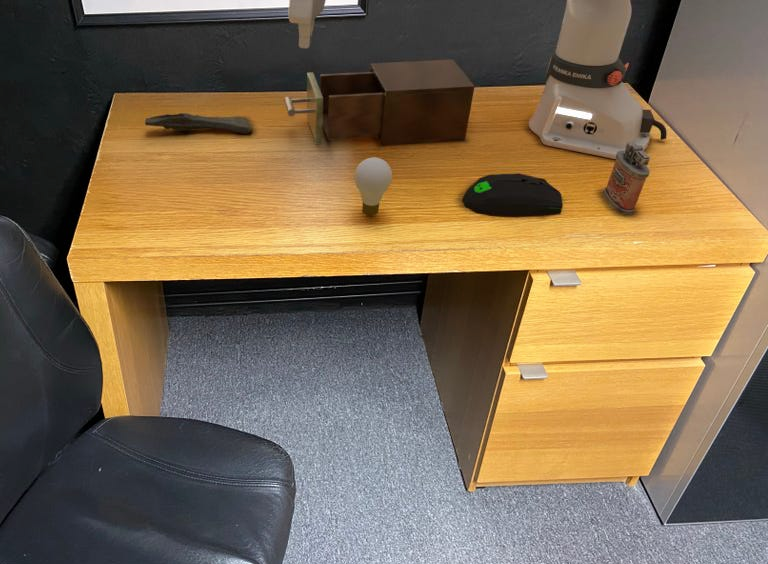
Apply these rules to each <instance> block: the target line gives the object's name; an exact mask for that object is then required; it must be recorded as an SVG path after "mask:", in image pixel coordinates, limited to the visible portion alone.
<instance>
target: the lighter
mask: <svg viewBox="0 0 768 564" xmlns="http://www.w3.org/2000/svg"><path fill="white" fill-rule="evenodd" d="M650 160H651V158H650V156H649V154H647V153H646V152H645V150H644V151H643V146H642V145H636V144H635V143H634V142H627V145H626V149H625V151H618V152H617V154H616V159H615V161H614V163H613V167H612V170H611V173H610V175H609V179H608V181H607V185H606V186H605V187H604V189H603V192H602V194H603V197H604V199H605V201H606V202H607V203H608V205H609V206H610V207H611V208H612V209H613V210H615V211H616V212H617V213H618V214H620V215H622V216H632V215H634V214H635V211H636V205H637V203H638V201H639V197H640V195H641V193H642V190H643V187H644V185H645V182H646V179H648V177H649V176H650V173H651V170H650V168H649V167H648V165H649V163H650Z"/></svg>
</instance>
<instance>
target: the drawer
mask: <svg viewBox="0 0 768 564" xmlns="http://www.w3.org/2000/svg"><path fill="white" fill-rule="evenodd" d="M384 96H385V93H384V91H383V90H382V88H381V86H380V84H379V82H378V81H377V79H376V77H375V75H374V73H373V72H370V71H362V72H361V71H360V72H342V73H341V72H340V73H322V74H320V80H319V84H318V81H317V79H316V76H315V73H314V72H313V71H312V72H306V97H302V98H301V97H300V98H299V97H298V98H291V96H285V98H284V100H283V101H284V105H285V109H286V112H287V115H288V116H289V117H292V118H293V117H294V116H295V115H299V114H306V119H307V121H308V125H309V127H310V131H311V135H312V137H313V140H314V144H315V145H322V143H323V129H324V132H325V134H326V138H327V141H334V140H335V141H336V140H350V139H352V140H353V139H368V138H377V137H381V129H382V118H383V107H384ZM298 103H299V104H300V103H306V108H301V109H300V108H299V109H295V106H294V104H298Z"/></svg>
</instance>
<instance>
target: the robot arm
mask: <svg viewBox="0 0 768 564" xmlns="http://www.w3.org/2000/svg"><path fill="white" fill-rule="evenodd" d="M288 3H289V4H288V21H289V23H291V24H297V25H298V26H297V27H298V48H300V49H309V48H310V46H311V45H312V40H313V39H312V38H313V32H314V27H315V19H316V18H317V17H318V16H319V15H320V14H321V13H322V12H323V11H324V8H325V5H326V0H289V1H288ZM631 17H632V3H631V0H566V4H565V9H564V15H563V19H562V23H561V27H560V32H559V35H558V40H557V44H556V48H555V49H554V50H553V52H552V54H551V57H550V60H549V62H548V66H547V71H546V76H545V77H546V78H545V81H546V83H545V86H544V89H543V91H542V94H541V97H540V99H539V101H538V103H537V106H536V108H535V110H534V112H533V113H532V115H531V117H530V119H529V121H528V127H529V129H530V130H531V131H532V132H533V133H534V134H535V135H537V136H538V137H539V139H540V141H541V143H542V144H543V145H545V146H549V147H553V148H559V149H563V150H567V151H572V152H579V153H583V154H588V155H594V156H597V157H598V156H599V157H603V158H608V159H613V160H616V154H617V152H618V151H625V149H626V145H627V142H634V143H635V144H636V145H642V146H643V151H644V152H645V150H646V149H647V148H648V146H649V143H650V139H651V138H650V135H651V134H650V133H651V130H652V129H653V127H655V128H657V129H658V130H659V132H660V140H666V139H667V132H668V131H667V127H666V126H665V125H664V124H663V123H661V122H660V121H659V120H656V119H655V117H654V115H653V112H652V110H651V109H644V108H643V105H642V104H641V103H640V101H639V99H637V98H636V97H635V96H634V94H632V92H631V91H630V89H629V88H628V87H627V86H626V85H625V83H624V82H623V81H624V78H625V75H626V72H627V70H628V67H629V65H630V63H629V62H626V64H624V63H623V61H622V60H621V59H620V53H621V50H622V48H623V47H622V46H623V44H624V40H625V37H626V35H627V30H628V28H629V25H630V21H631V19H632V18H631Z"/></svg>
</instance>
